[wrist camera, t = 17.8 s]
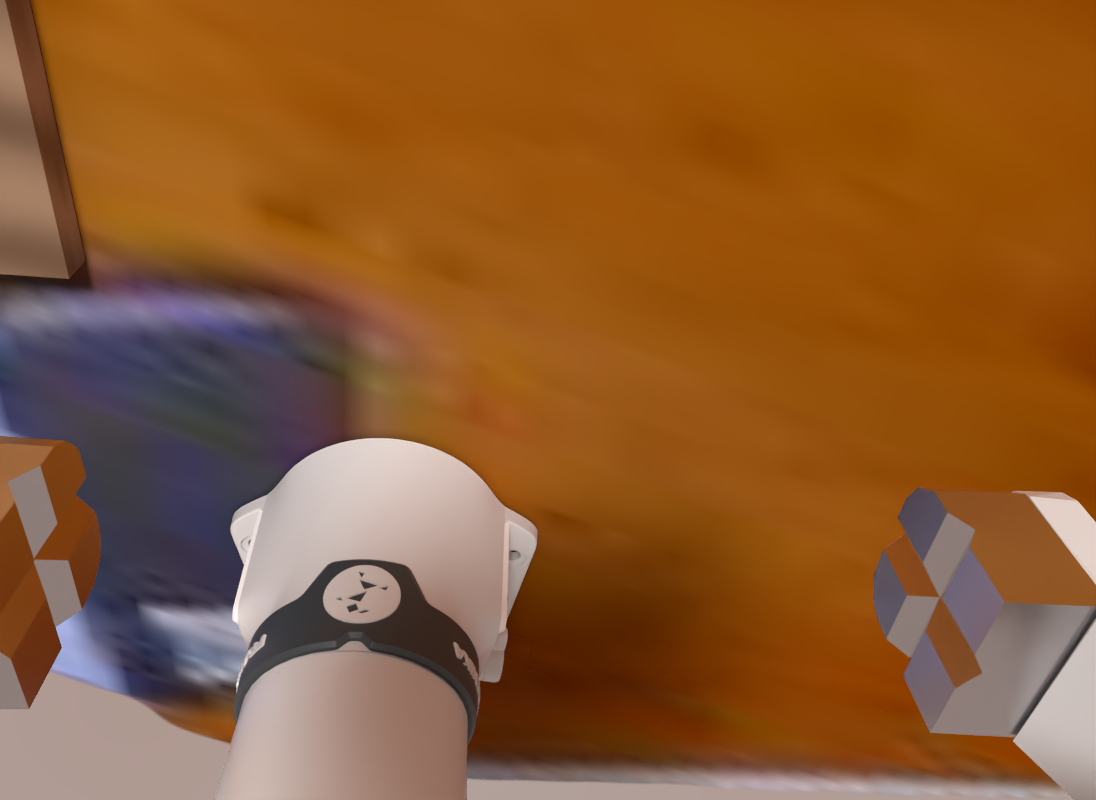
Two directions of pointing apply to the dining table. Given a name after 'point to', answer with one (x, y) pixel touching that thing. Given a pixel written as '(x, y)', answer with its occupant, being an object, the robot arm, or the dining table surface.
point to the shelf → (31, 160)
